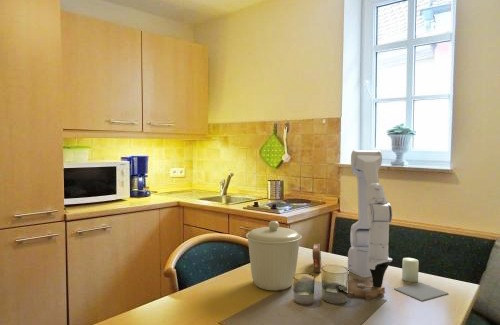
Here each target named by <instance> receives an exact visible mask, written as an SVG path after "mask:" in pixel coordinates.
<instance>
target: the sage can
mask: <svg viewBox="0 0 500 325" xmlns="http://www.w3.org/2000/svg"><path fill="white" fill-rule="evenodd" d="M401 265H402V266H401V267H402V269H401V270H402V271H401V273H402V274H401V279H402V281H405V282H409V283H419V265H420V263H419V260H418V259H416V258H412V257H403V258H402V264H401Z"/></svg>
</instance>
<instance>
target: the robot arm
mask: <svg viewBox="0 0 500 325" xmlns="http://www.w3.org/2000/svg"><path fill="white" fill-rule="evenodd" d="M382 163H383V154H382V152H381V150H380V149H377V150H372V149H370V150H368V149H367V150H362V149H361V150H359V149H357V150H356V149H353V150H352V151H351V155H350V171H351V174H353V175H354V176H355V177H356V182H357V214H358V217H357V218H358V220H357V221H356V222H354V223H353V224H351V227H350V234H349V235H350V236H349V241H350V246H351V247H349V250H348V252H347V268H348V269H349V271H348V272H350V273H352V274H355V275H357V276H359V277H360V278H361V277H362V278H365V279H366V278H370V277H371V281H373V286H374V287H379V288H380V287H381V286H383V282H384V277H385V274H386V271H387V269H388V267H389V263H391V262H392V261H393V258H391V257H389V240H390V239H389V237H390V236H389V235H390V233H389V232H390V223H391V222H392V221H393V220H392V219H393V210H392V205H391V203H390V202H389V201H387V197H386V192H385V188H384V186H383V185H381V183H380V180H379V170H380V169H381V166H382Z"/></svg>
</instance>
